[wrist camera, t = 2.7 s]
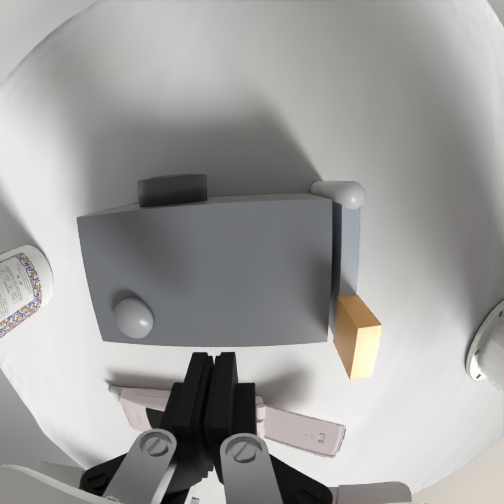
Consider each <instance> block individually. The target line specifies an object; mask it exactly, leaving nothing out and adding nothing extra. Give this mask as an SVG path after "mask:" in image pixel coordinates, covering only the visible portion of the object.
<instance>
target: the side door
mask: <svg viewBox="0 0 504 504" xmlns="http://www.w3.org/2000/svg"><path fill="white" fill-rule="evenodd" d="M310 193H311V194H313V195H317V196H321V197H325V198H329V199H332V271H331V293H330V310H329V326H330V329H331V331H332V333H333V335H334V339H333V342H334V344H335V347H336V349H337V351H338V353H339V356H340V358H341V360H342V363H343V365H344V367H345V370H346V372H347V374H348V377H349V379H350V380H351V379H358V378H364V377H370V376H372V374H373V369H374V365H375V360H376V355H377V351H378V345H379V340H380V335H381V329H382V324H381V323H380V322H379V321H378V319H377V318H376V317H375V316H374V314H373V313H372V312H371V311H370V310H369V308H368V307H367V306H366V305H365V303H364V302H363V301H362V300H361V299H360V297H359V296H358V295H357V294H356V288H357V275H358V258H359V232H360V206H361V205H362V204H363V203H364V200H365V191H364V188H363V187H362V186H361V185H360V184H359V183H357V182H354V181H316V182H314V183H313V184H312V185H311V187H310Z"/></svg>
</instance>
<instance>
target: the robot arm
mask: <svg viewBox="0 0 504 504" xmlns="http://www.w3.org/2000/svg"><path fill="white" fill-rule="evenodd" d="M466 370H467V373H468V375H469V376H470V377H471V378H472V379H473V380H474V381H483V380H486V379H488V380H489V381H490V382H491V383H492V384H493V385H494V386H495V387H496V388H497V389H498V390H499V392H500V393H501V394H502V395H503V396H504V300H503V301H502V302H501V303H499V304H498V305H497V306H496V307H495V308H494V309H493V310H492V311H491V313H490V314H489V315H488V316H487V318H486V319H485V321H484V322H483V324H482V325H481V327H480V328H479V330H478V332H477V334H476V335H475V338H474V340H473V342H472V344H471V347H470V350H469V353H468V357H467V362H466ZM214 466H215V470H216V473H217V476H218V479H219V482H221V483H222V484H223V485H224V489H225V497H226V504H425V503H415V502H412V500H411V492H410V489H409V487H408V486H407V485H406V484H404V483H401V482H393V481H392V482H384V483H373V484H357V485H339V487H326V486H325V485H323V484H321V483H319V482H318V481H316V480H314V479H312V478H310V477H308V476H306V475H304V474H303V473H301V472H299V471H297V470H296V469H294V468H292V467H290V466H289V465H287V464H285V463H284V462H282V461H280V460H279V459H277V458H276V457H274V456H272V455H271V454H269V452H268V448H267V445H266V443H265V441H264V440H262V439H261V438H260V437H258V436H257V412H256V392H255V383H238V375H237V365H236V356H235V352H221V355H220V356H216V358H215V363H214V362H213V357H212V356H208V354H207V352H193V354H192V357H191V360H190V364H189V367H188V370H187V373H186V377H185V380H184V383H179V382H175V383H174V385H173V387H172V390H171V393H170V396H169V399H168V402H167V405H166V408H165V411H164V414H163V417H162V420H161V423H160V426H159V429H150V430H147V431H144V432H143V433H141V434H140V435H139V436H138V437H137V438H136V440H135V442H134V443H133V445H132V447H131V448H130V450H129V452H128V453H126V454H124V455H121V456H119V457H117V458H114V459H112V460H110V461H107V462H105V463H102V464H100V465H97V466H95V467H92V468H90V469H88V470H87V471H86V470H84V469H83V468H78V467H71V466H65V465H59V464H54V463H48V462H38V463H35V464H34V465H33V466H32V468H31V469H29V468H26V467H22V466H18V465H13V464H0V504H190V502H191V499H192V497H193V494H194V491H195V486H196V485H195V484H197V483H198V482H200V481H202V478H207V477H208V471H213V468H214Z"/></svg>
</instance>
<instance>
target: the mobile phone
mask: <svg viewBox="0 0 504 504" xmlns="http://www.w3.org/2000/svg"><path fill="white" fill-rule="evenodd" d="M108 390H109V392H112V393H115V394H119V395H120V397H119V399H120V402H121V405H122V407H123V410H124V412H125V414H126V417H127V419H128V421H129V424H130V426H131V427H132V428H134V429H136V430H140V431H143V432H144V431H147V430H150V429H159V426H160V423H161V420H162V417H163V414H164V411H165V408H166V405H167V402H168V399H169V396H170V393H171V391H168V390H159V389H144V388H126V387H118V386H109V387H108ZM256 412H257V436H258V437H260V438H261V439H262V440H263V438H266V439H269V440H272V441H275V442H277V443H280V444H283V445H286V446H290V447H293V448H296V449H299V450H302V451H306V452H309V453H313V454H314V455H317V456H321V457H329V458H334V457H335V456H336V454H337V453H338V451H339V449H340V446H341V444H342V441H343V439H344V435H345V430H346V426H343V425H341V424H336V423H333V422H328V421H324V420H320V419H317V418H313V417H309V416H305V415H301V414H297V413H294V412H290V411H286V410H283V409H279V408H276V407H273V406H269V405H266V404H264V400H263V398H262V396H256Z"/></svg>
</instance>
